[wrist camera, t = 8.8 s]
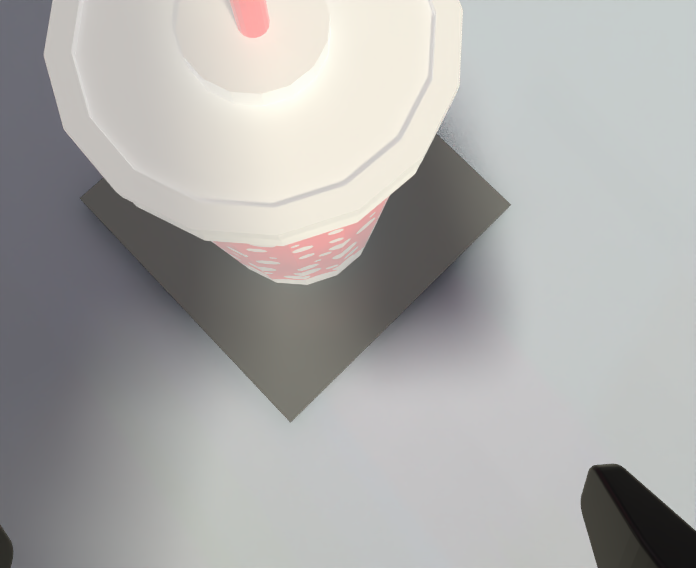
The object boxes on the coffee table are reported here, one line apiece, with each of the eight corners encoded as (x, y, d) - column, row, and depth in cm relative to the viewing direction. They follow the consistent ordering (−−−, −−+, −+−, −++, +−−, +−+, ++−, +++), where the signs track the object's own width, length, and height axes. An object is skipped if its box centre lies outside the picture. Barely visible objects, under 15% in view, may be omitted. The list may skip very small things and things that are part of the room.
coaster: (292, 420, 17) (290, 422, 17) (88, 204, 18) (79, 198, 17) (505, 210, 18) (510, 204, 18) (302, 16, 19) (301, 5, 19)
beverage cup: (282, 72, 18) (100, -904, 4) (443, 191, 18) (815, -494, 4) (150, 225, 17) (-586, -379, 4) (315, 354, 17) (199, 238, 3)
